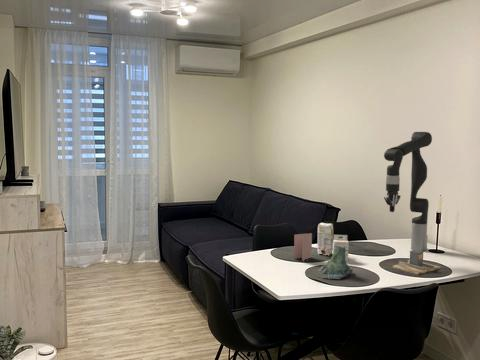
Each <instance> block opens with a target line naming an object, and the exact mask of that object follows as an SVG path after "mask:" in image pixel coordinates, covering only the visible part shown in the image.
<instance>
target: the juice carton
mask: <svg viewBox="0 0 480 360" xmlns="http://www.w3.org/2000/svg"><path fill="white" fill-rule="evenodd" d="M333 240H334V224H333V223H327V222H326V223H325V222H320V223H318V225H317V242H316V243H317V248H316V249H317V255H319V254H323V255H322V256H326V255H328V256H330V255H331V256H332V255H333ZM328 256H327V257H328Z"/></svg>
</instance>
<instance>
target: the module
mask: <svg viewBox="0 0 480 360" xmlns="http://www.w3.org/2000/svg"><path fill="white" fill-rule="evenodd" d="M409 259H410V264H412V265H416V266H419V267H423V263H424V251H419V250H412V249H411V250H410V251H409Z"/></svg>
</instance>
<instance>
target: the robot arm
mask: <svg viewBox="0 0 480 360" xmlns="http://www.w3.org/2000/svg"><path fill="white" fill-rule="evenodd" d="M432 140H433V137H432V134H431V133H430V132H429V131H414V132H413V133H412V134H411V140H409V141H406V142H402V143H400V144H399V145H397V146H393V147H390V148H388V149H386V150H385V151H384V153H383V154H384V155H383V158H384V159H385V160H386V161H388V162H393V163H392V164H391V165H388V166H387V168H386V180H385V191H386V192H387V193H386V196H384V197H383V198H384V201H385V202H386V205H388V206H389V212H390V213H394V212H395V210H396V209H395V206H396V205H398V203H399V200H401V195H399V191H400V183H401V182H400V169H401V165H402V162H403V158H404V157H405V156H406V155H408V154H411V174H410V175H411V176H410V177H411V180H410V181H411V186H410V199H409V209H410V213H411V212H412V213H420V215H419V216H415V217H413V218H411V232H410V233H411V234H410V235H411V236H410V237H411V238H410V249H411V251H412V250H419V251H423V252H424V251H427V250H428V220H429V219H428V218H429V217H428V216H429V215H428V214H429V199H427V198H423V197H417V196H418V195H417V194H418V192H419V190H420V189H421V188H422V186H423V184H424V183H425V182H426V180H427V178H428V166H427V164H426V161H425V160H424V158H423V156H422V154H421V149H423V148H427V147H428V146H430V145H431V143H432Z"/></svg>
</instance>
